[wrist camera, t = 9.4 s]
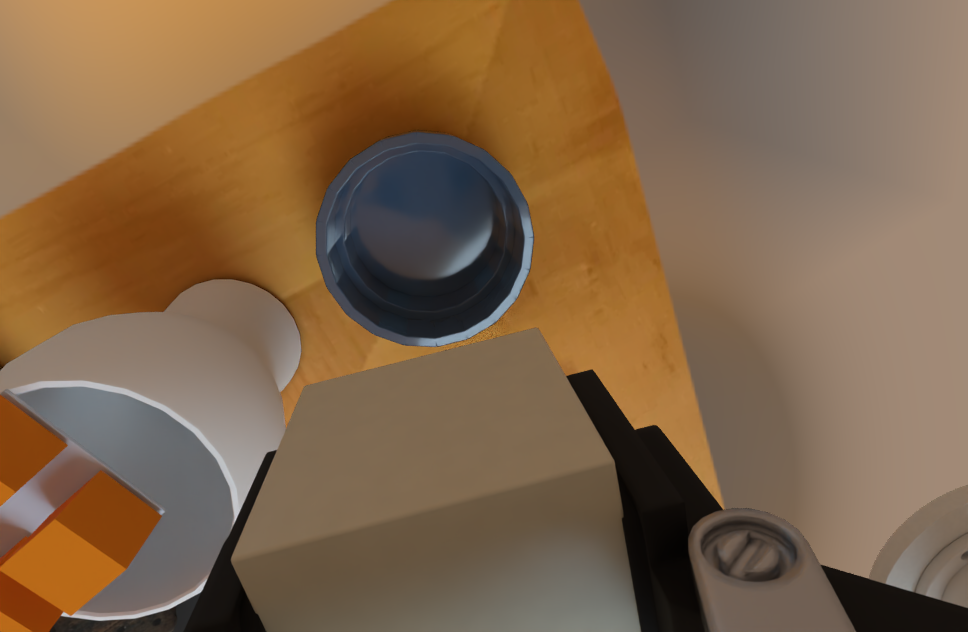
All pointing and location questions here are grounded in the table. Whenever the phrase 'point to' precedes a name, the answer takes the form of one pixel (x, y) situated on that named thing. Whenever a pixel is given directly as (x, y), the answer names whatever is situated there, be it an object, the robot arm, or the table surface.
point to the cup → (171, 421)
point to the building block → (60, 520)
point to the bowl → (424, 239)
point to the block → (441, 503)
